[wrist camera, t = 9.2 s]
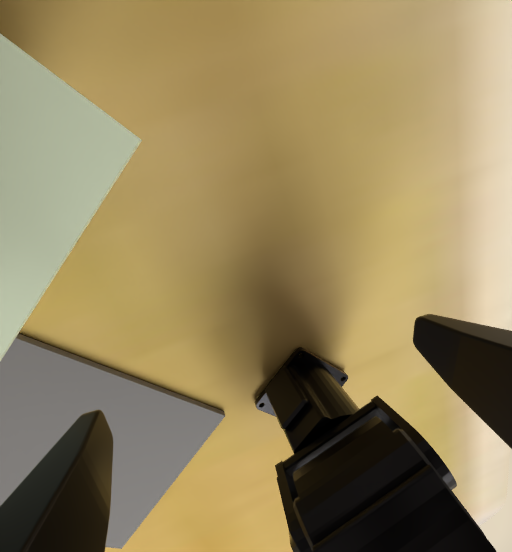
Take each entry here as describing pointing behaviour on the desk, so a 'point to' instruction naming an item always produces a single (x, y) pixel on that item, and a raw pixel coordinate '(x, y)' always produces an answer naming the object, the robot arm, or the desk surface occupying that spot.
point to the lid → (47, 178)
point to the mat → (120, 417)
